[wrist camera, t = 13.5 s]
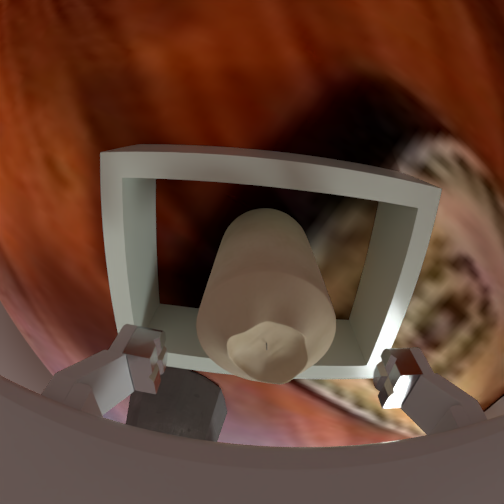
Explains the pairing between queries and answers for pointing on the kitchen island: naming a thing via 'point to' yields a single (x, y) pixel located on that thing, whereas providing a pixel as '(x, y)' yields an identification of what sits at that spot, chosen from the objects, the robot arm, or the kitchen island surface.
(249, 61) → the kitchen island surface
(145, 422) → the coffeepot
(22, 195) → the kitchen island surface
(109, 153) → the grey rectangular frame
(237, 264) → the candle
